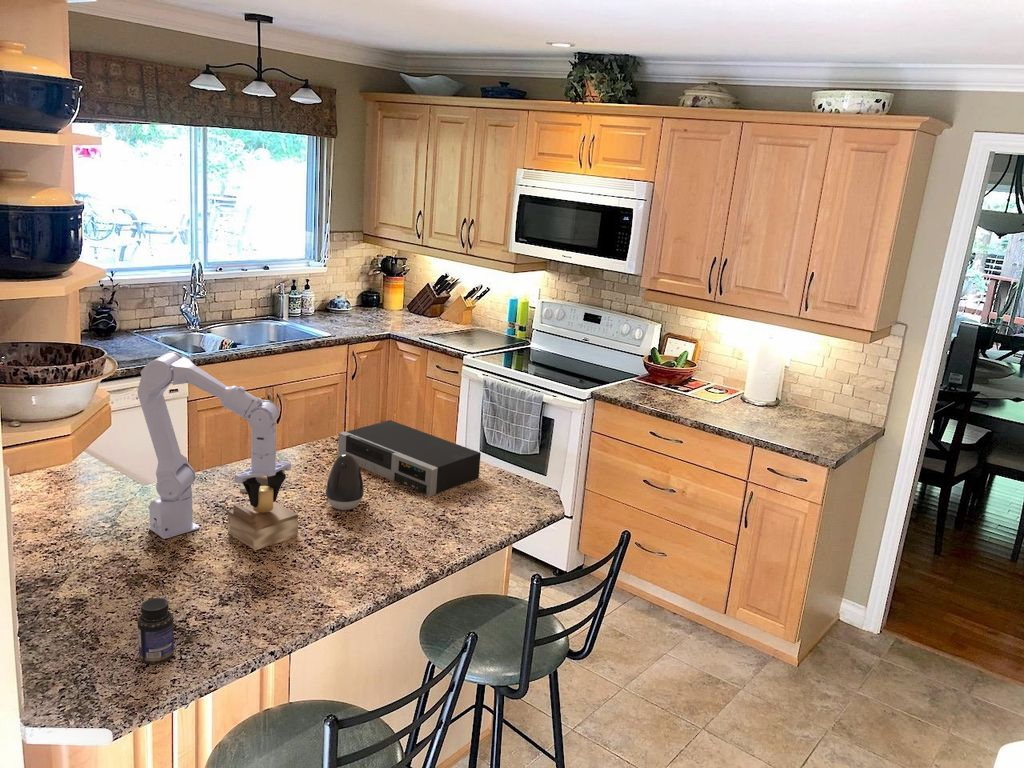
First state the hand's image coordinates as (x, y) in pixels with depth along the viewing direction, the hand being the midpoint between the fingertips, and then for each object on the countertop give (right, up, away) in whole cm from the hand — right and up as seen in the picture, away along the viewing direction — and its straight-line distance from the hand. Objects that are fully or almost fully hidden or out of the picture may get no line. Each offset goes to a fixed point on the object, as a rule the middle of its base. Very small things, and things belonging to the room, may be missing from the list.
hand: (263, 503), depth 206 cm
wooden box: (-1, -8, +2) cm, 8 cm away
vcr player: (+28, +2, +52) cm, 59 cm away
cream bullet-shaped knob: (0, -1, 0) cm, 1 cm away
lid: (0, -3, +1) cm, 3 cm away
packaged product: (-10, +1, +35) cm, 36 cm away
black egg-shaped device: (+16, -4, +22) cm, 27 cm away
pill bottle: (-6, -22, -49) cm, 54 cm away
